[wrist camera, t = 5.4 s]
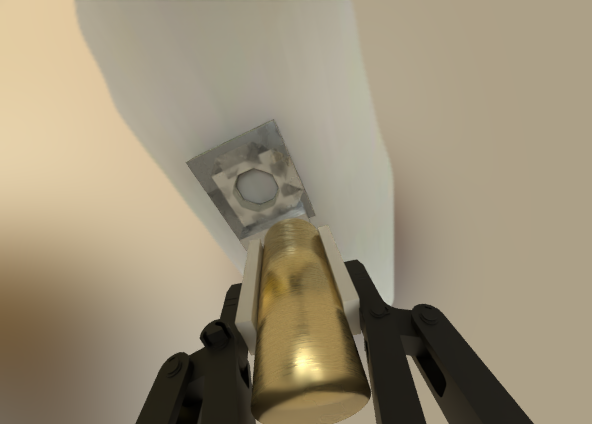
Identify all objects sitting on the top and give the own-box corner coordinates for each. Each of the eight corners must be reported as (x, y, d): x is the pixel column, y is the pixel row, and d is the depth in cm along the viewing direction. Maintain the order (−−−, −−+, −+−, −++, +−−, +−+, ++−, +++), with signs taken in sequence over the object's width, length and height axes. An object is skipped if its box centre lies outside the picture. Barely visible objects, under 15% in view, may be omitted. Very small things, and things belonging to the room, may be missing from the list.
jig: (193, 157, 28) (178, 167, 24) (274, 119, 27) (273, 121, 22) (245, 235, 34) (241, 254, 30) (312, 207, 33) (318, 222, 29)
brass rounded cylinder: (252, 241, 16) (224, 410, 7) (295, 207, 15) (324, 355, 6) (289, 272, 18) (302, 437, 9) (330, 243, 17) (391, 398, 8)
